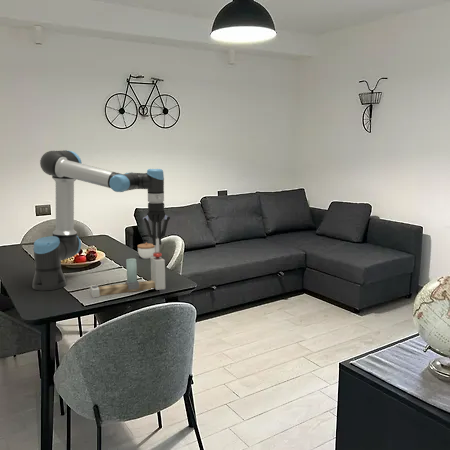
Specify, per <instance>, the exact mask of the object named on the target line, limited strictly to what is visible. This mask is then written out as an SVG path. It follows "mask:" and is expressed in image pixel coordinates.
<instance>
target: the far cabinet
mask: <svg viewBox="0 0 450 450" xmlns="http://www.w3.org/2000/svg"><path fill="white" fill-rule="evenodd" d="M151 280H153V281H154V282H155V290H156V291H158V290H159V291H160V290H166V260H165V259H164V258H162V256H160V259H159V260H155V257H154V256H152V257H151V258H150V281H151Z"/></svg>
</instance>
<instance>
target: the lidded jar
mask: <svg viewBox="0 0 450 450" xmlns="http://www.w3.org/2000/svg"><path fill="white" fill-rule="evenodd" d="M137 252H138V255H139V256H140V258H141V259H144V260H145V259H147V260H148V259H151V257H154V256H153V253H156V252H155V245H153V243H149V242H147V241H146V242H145V243H140V244H137Z"/></svg>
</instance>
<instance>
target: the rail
mask: <svg viewBox="0 0 450 450" xmlns="http://www.w3.org/2000/svg"><path fill="white" fill-rule="evenodd" d="M138 282H139V289H131V290H128V285H127V284H125V283H120V284H112V285H101V286H98V288H99V292H100V296H107V295H117V294H125V293H133V292H140V291H139V290H141V291H145V289H148V290H152V289H151V288H155V282H154V281H153V280H151V279H150V280H146V281H145V280H143V281H138Z"/></svg>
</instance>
